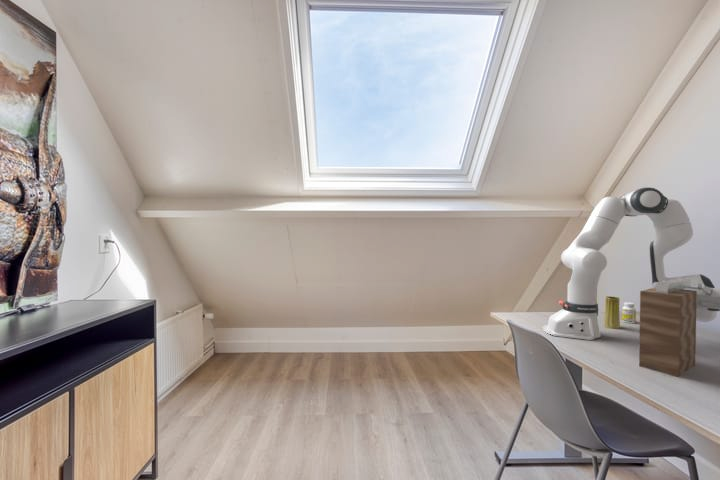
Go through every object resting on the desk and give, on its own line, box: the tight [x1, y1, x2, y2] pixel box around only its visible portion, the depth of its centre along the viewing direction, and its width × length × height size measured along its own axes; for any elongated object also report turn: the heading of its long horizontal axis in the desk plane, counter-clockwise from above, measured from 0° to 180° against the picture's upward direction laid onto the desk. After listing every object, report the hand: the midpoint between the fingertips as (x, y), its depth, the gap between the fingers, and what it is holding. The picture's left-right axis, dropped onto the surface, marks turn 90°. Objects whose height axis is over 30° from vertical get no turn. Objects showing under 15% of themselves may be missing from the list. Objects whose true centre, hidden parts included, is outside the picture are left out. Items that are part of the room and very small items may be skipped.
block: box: [656, 278, 691, 294], centre depth 114 cm, size 22×3×3 cm, turn 120°
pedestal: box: [638, 287, 697, 378], centre depth 112 cm, size 16×10×26 cm, turn 120°
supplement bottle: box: [621, 301, 637, 324], centre depth 164 cm, size 5×5×10 cm
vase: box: [603, 296, 621, 330], centre depth 156 cm, size 6×6×14 cm
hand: (682, 284), depth 118 cm, fingers open, 8 cm apart
